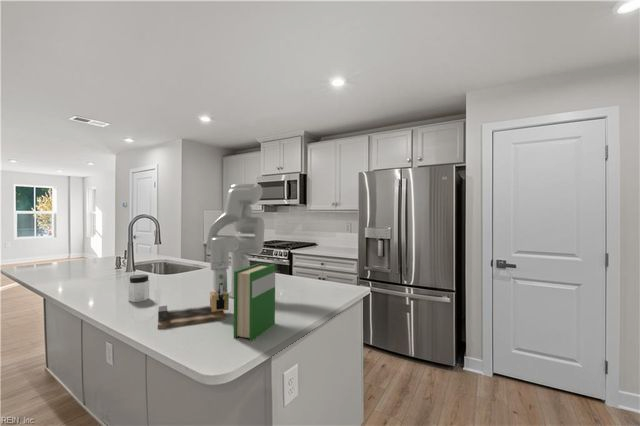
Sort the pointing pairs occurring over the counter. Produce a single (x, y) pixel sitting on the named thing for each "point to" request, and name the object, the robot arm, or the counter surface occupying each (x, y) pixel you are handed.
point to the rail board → (187, 316)
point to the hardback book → (254, 300)
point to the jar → (138, 288)
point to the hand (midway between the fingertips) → (219, 306)
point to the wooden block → (214, 301)
